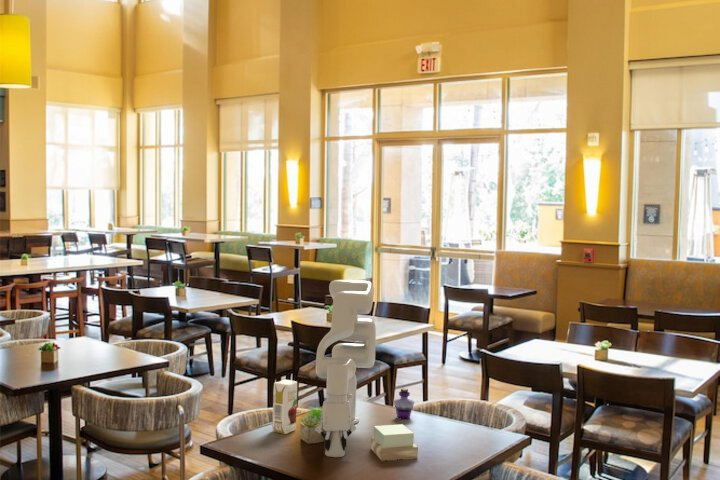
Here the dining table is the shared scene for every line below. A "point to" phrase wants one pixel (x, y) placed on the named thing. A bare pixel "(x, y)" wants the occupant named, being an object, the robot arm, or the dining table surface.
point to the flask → (335, 446)
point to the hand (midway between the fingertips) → (335, 449)
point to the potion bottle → (403, 405)
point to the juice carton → (284, 406)
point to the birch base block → (394, 451)
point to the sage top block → (393, 436)
